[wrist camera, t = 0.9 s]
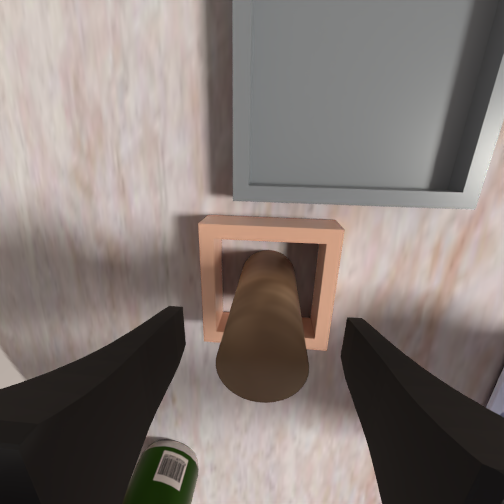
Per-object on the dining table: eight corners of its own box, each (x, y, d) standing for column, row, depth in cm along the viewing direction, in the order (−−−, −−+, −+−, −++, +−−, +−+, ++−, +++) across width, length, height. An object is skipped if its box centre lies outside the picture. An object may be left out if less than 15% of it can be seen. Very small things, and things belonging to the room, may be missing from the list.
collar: (335, 219, 16) (344, 230, 13) (321, 328, 18) (326, 350, 16) (208, 214, 16) (198, 223, 14) (212, 320, 19) (204, 341, 17)
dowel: (296, 251, 16) (313, 332, 9) (292, 299, 18) (304, 406, 10) (242, 248, 17) (214, 325, 9) (241, 296, 18) (217, 398, 10)
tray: (538, -100, 10) (588, -148, 9) (452, 203, 15) (475, 209, 13) (238, -86, 11) (232, -128, 10) (237, 195, 16) (232, 200, 14)
